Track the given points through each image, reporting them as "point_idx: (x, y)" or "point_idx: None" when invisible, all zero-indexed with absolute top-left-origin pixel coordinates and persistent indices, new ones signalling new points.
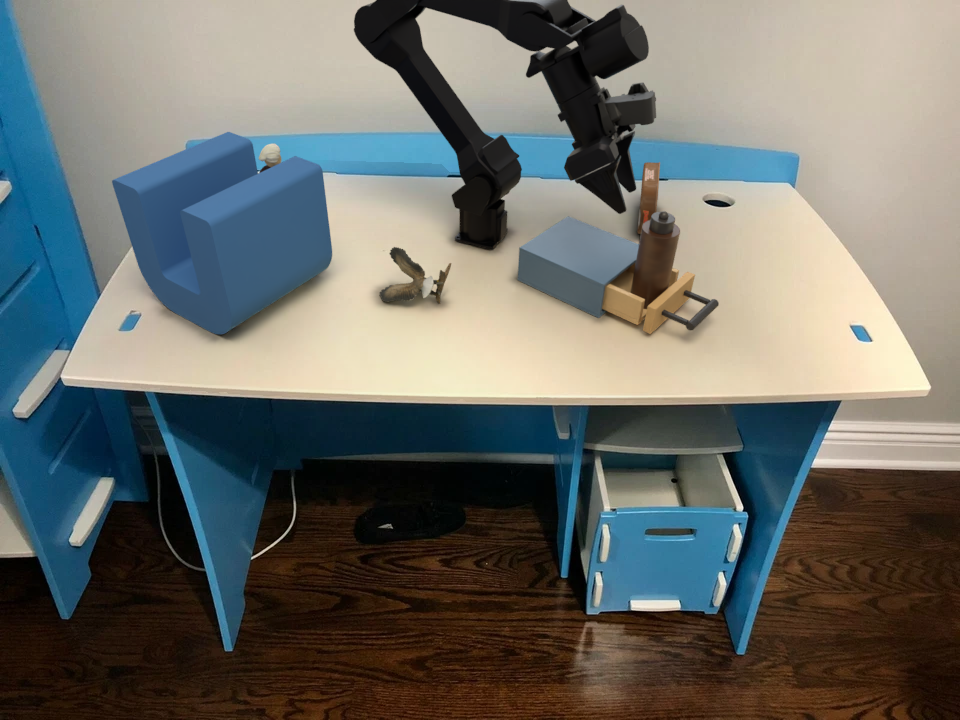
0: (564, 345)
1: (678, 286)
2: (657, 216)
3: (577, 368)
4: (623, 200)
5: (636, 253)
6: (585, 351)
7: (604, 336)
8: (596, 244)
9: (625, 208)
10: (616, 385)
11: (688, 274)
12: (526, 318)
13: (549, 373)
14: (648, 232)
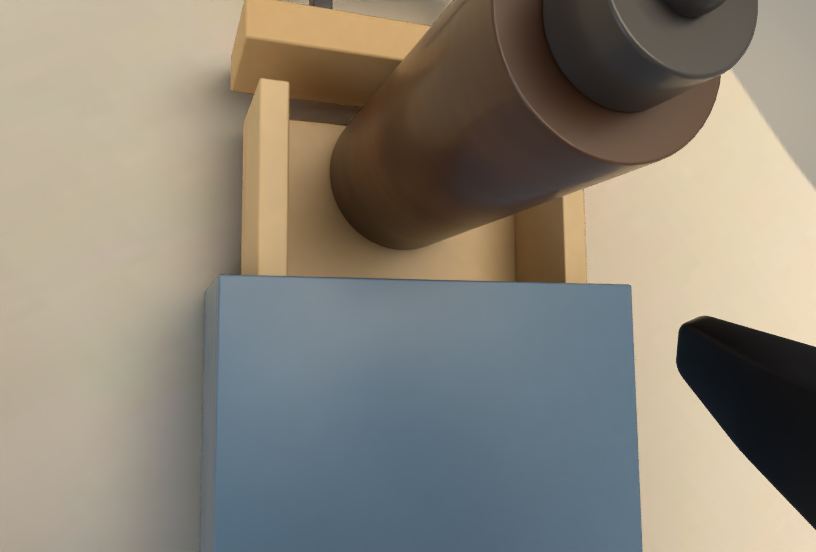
0: (697, 303)
1: (393, 30)
2: (704, 26)
3: (740, 216)
4: (790, 349)
5: (319, 307)
6: (679, 238)
7: (594, 229)
8: (382, 528)
9: (723, 320)
10: (725, 96)
11: (271, 22)
12: (679, 482)
13: (795, 265)
14: (705, 83)
